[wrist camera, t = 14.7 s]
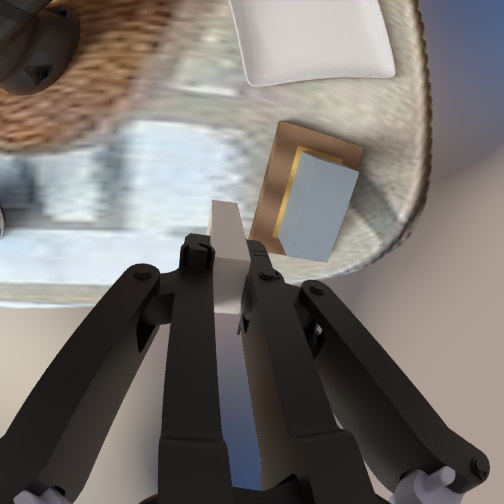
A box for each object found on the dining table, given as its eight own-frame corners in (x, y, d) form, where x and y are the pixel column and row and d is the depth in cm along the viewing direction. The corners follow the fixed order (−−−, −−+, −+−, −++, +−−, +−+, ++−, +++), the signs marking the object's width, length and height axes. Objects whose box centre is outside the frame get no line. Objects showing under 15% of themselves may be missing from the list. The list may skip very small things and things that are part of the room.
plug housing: (313, 242, 40) (327, 262, 35) (277, 235, 39) (287, 256, 33) (339, 162, 35) (359, 172, 29) (301, 151, 34) (316, 158, 28)
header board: (279, 121, 34) (289, 122, 28) (357, 146, 36) (377, 152, 31) (247, 243, 41) (251, 262, 36) (321, 255, 44) (333, 274, 39)
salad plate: (246, 92, 32) (249, 89, 29) (215, -33, 22) (215, -43, 19) (386, 80, 32) (399, 78, 29) (354, -34, 22) (363, -42, 19)
